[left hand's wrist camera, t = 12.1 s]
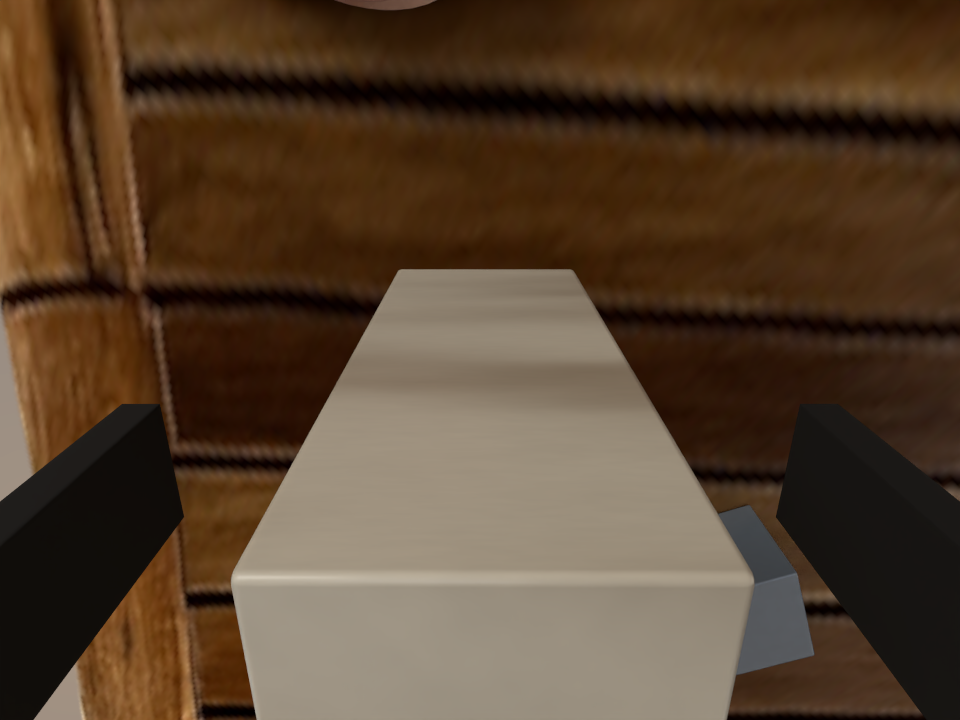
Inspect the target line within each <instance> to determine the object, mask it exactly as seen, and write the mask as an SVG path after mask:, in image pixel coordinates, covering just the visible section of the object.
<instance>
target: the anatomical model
mask: <svg viewBox="0 0 960 720" xmlns="http://www.w3.org/2000/svg"><path fill="white" fill-rule="evenodd" d="M336 1H339V2H342V3H345V4H349V5H353V6H358V7H363V8H368V9H378V10H402V9H410V8H415V7H419V6H423V5H427V4H429V3H431V2H433V1H436V0H336Z"/></svg>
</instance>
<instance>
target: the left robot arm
mask: <svg viewBox="0 0 960 720" xmlns="http://www.w3.org/2000/svg"><path fill="white" fill-rule="evenodd" d="M183 518H184V515H183V510H182V505H181V501H180V496H179V491H178V487H177V482H176V477H175V473H174V468H173V463H172V459H171V454H170V449H169V445H168V440H167V435H166V431H165V426H164V421H163V417H162V412H161V407H160V404H122V405H120V406H119V407H118V408H117V409H115V410H114V411H113V412H112V413H110V414H109V415H108V416H107V417H105V418H104V419H103V420H102V421H100V422H99V423H98V424H97V425H95V426H94V427H93V428H92V429H90V430H89V431H88V432H87V433H85V434H84V435H83V436H82V437H80V438H79V439H78V440H77V441H75V442H74V443H73V444H72V445H70V446H69V447H68V448H67V449H65V450H64V451H63V452H62V453H60V454H59V455H58V456H57V457H55V458H54V459H53V460H52V461H50V462H49V463H48V464H47V465H45V466H44V467H43V468H42V469H40V470H39V471H38V472H37V473H35V474H34V475H33V476H32V477H30V478H29V479H28V480H27V481H25V482H24V483H23V484H22V485H20V486H19V487H18V488H17V489H15V490H14V491H13V492H12V493H10V494H9V495H8V496H7V497H5V498H4V499H3V500H2V501H0V720H34V718H35V717H36V716H37V714H38V713H39V712H40V710H41V709H42V707H43V706H44V705H45V704H46V702H47V701H48V699H49V698H50V697H51V695H52V694H53V693H54V691H55V690H56V689H57V687H58V686H59V685H60V683H61V682H62V681H63V679H64V678H65V677H66V675H67V674H68V672H69V671H70V670H71V668H72V667H73V666H74V664H75V663H76V662H77V660H78V659H79V658H80V656H81V655H82V654H83V652H84V651H85V650H86V648H87V647H88V646H89V644H90V643H91V642H92V640H93V639H94V637H95V636H96V635H97V633H98V632H99V631H100V629H101V628H102V627H103V625H104V624H105V623H106V621H107V620H108V619H109V617H110V616H111V615H112V613H113V612H114V611H115V609H116V608H117V606H118V605H119V604H120V602H121V601H122V600H123V598H124V597H125V596H126V594H127V593H128V592H129V590H130V589H131V588H132V586H133V585H134V584H135V582H136V581H137V580H138V578H139V577H140V575H141V574H142V573H143V571H144V570H145V569H146V567H147V566H148V565H149V563H150V562H151V561H152V559H153V558H154V557H155V555H156V554H157V553H158V551H159V550H160V549H161V547H162V546H163V545H164V543H165V542H166V540H167V539H168V538H169V536H170V535H171V534H172V532H173V531H174V530H175V528H176V527H177V526H178V524H179V523H180V522H181V520H182V519H183ZM776 518H777V519H778V520H779V522H780V523H781V524H782V526H783V527H784V528H785V530H786V531H787V532H788V534H789V535H790V536H791V538H792V539H793V540H794V542H795V543H796V545H797V546H798V547H799V549H800V550H801V551H802V553H803V554H804V555H805V557H806V558H807V559H808V561H809V562H810V563H811V565H812V566H813V567H814V569H815V570H816V571H817V573H818V574H819V576H820V577H821V578H822V580H823V581H824V582H825V584H826V585H827V586H828V588H829V589H830V590H831V592H832V593H833V594H834V596H835V597H836V598H837V600H838V601H839V602H840V604H841V605H842V606H843V608H844V609H845V611H846V612H847V613H848V615H849V616H850V617H851V619H852V620H853V621H854V623H855V624H856V625H857V627H858V628H859V629H860V631H861V632H862V633H863V635H864V636H865V637H866V639H867V640H868V642H869V643H870V644H871V646H872V647H873V648H874V650H875V651H876V652H877V654H878V655H879V656H880V658H881V659H882V660H883V662H884V663H885V664H886V666H887V667H888V668H889V670H890V671H891V673H892V674H893V675H894V677H895V678H896V679H897V681H898V682H899V683H900V685H901V686H902V687H903V689H904V690H905V691H906V693H907V694H908V695H909V697H910V698H911V699H912V701H913V702H914V704H915V705H916V706H917V708H918V709H919V710H920V712H921V713H922V714H923V716H924V717H925V718H926V720H960V501H958V500H957V499H956V498H955V497H953V496H952V495H951V494H950V493H948V492H947V491H946V490H945V489H943V488H942V487H941V486H940V485H938V484H937V483H936V482H935V481H933V480H932V479H931V478H930V477H928V476H927V475H926V474H925V473H923V472H922V471H921V470H920V469H918V468H917V467H916V466H915V465H913V464H912V463H911V462H910V461H908V460H907V459H906V458H905V457H903V456H902V455H901V454H900V453H898V452H897V451H896V450H895V449H893V448H892V447H891V446H890V445H888V444H887V443H886V442H885V441H883V440H882V439H881V438H880V437H878V436H877V435H876V434H875V433H873V432H872V431H871V430H870V429H868V428H867V427H866V426H865V425H863V424H862V423H861V422H860V421H858V420H857V419H856V418H855V417H853V416H852V415H851V414H850V413H848V412H847V411H846V410H845V409H843V408H842V407H841V406H840V405H838V404H800V407H799V412H798V417H797V421H796V426H795V431H794V435H793V440H792V445H791V449H790V454H789V459H788V463H787V468H786V473H785V477H784V482H783V487H782V491H781V496H780V501H779V505H778V510H777V515H776Z"/></svg>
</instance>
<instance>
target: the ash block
mask: <svg viewBox="0 0 960 720" xmlns="http://www.w3.org/2000/svg"><path fill="white" fill-rule="evenodd" d="M231 586H232V592H233V597H234V602H235V607H236V613H237V618H238V623H239V628H240V633H241V639H242V644H243V649H244V654H245V660H246V665H247V670H248V675H249V681H250V686H251V691H252V696H253V702H254V707H255V712H256V717H257V720H727V715H728V711H729V706H730V701H731V696H732V692H733V687H734V682H735V677H736V672H737V668H738V663H739V658H740V653H741V648H742V644H743V639H744V634H745V629H746V624H747V620H748V615H749V610H750V605H751V600H752V596H753V591H754V586H755V579H754V576H753V573H752V571H751V569H750V568H749V566H748V564H747V563H746V561H745V559H744V558H743V556H742V554H741V552H740V551H739V549H738V547H737V546H736V544H735V542H734V541H733V539H732V537H731V536H730V534H729V532H728V531H727V529H726V527H725V525H724V524H723V522H722V520H721V519H720V517H719V515H718V514H717V512H716V510H715V509H714V507H713V505H712V504H711V502H710V500H709V499H708V497H707V495H706V493H705V492H704V490H703V488H702V487H701V485H700V483H699V482H698V480H697V478H696V477H695V475H694V473H693V472H692V470H691V468H690V467H689V465H688V463H687V461H686V460H685V458H684V456H683V455H682V453H681V451H680V450H679V448H678V446H677V445H676V443H675V441H674V440H673V438H672V436H671V434H670V433H669V431H668V429H667V428H666V426H665V424H664V423H663V421H662V419H661V418H660V416H659V414H658V413H657V411H656V409H655V408H654V406H653V404H652V402H651V401H650V399H649V397H648V396H647V394H646V392H645V391H644V389H643V387H642V386H641V384H640V382H639V381H638V379H637V377H636V375H635V374H634V372H633V370H632V369H631V367H630V365H629V364H628V362H627V360H626V359H625V357H624V355H623V354H622V352H621V350H620V349H619V347H618V345H617V343H616V342H615V340H614V338H613V337H612V335H611V333H610V332H609V330H608V328H607V327H606V325H605V323H604V322H603V320H602V318H601V317H600V315H599V313H598V311H597V310H596V308H595V306H594V305H593V303H592V301H591V300H590V298H589V296H588V295H587V293H586V291H585V290H584V288H583V286H582V284H581V283H580V281H579V279H578V278H577V276H576V274H575V273H574V271H573V270H399V271H398V273H397V274H396V276H395V278H394V280H393V282H392V283H391V285H390V287H389V289H388V291H387V293H386V294H385V296H384V298H383V300H382V302H381V303H380V305H379V307H378V309H377V311H376V313H375V314H374V316H373V318H372V320H371V322H370V323H369V325H368V327H367V329H366V331H365V333H364V334H363V336H362V338H361V340H360V342H359V343H358V345H357V347H356V349H355V351H354V353H353V354H352V356H351V358H350V360H349V362H348V364H347V365H346V367H345V369H344V371H343V373H342V374H341V376H340V378H339V380H338V382H337V384H336V385H335V387H334V389H333V391H332V393H331V394H330V396H329V398H328V400H327V402H326V404H325V405H324V407H323V409H322V411H321V413H320V414H319V416H318V418H317V420H316V422H315V424H314V425H313V427H312V429H311V431H310V433H309V434H308V436H307V438H306V440H305V442H304V444H303V445H302V447H301V449H300V451H299V453H298V454H297V456H296V458H295V460H294V462H293V464H292V465H291V467H290V469H289V471H288V473H287V474H286V476H285V478H284V480H283V482H282V484H281V485H280V487H279V489H278V491H277V493H276V494H275V496H274V498H273V500H272V502H271V504H270V505H269V507H268V509H267V511H266V513H265V514H264V516H263V518H262V520H261V522H260V524H259V525H258V527H257V529H256V531H255V533H254V535H253V536H252V538H251V540H250V542H249V544H248V545H247V547H246V549H245V551H244V553H243V555H242V556H241V558H240V560H239V562H238V564H237V565H236V567H235V569H234V571H233V574H232V577H231Z"/></svg>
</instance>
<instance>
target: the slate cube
mask: <svg viewBox="0 0 960 720" xmlns="http://www.w3.org/2000/svg"><path fill="white" fill-rule="evenodd" d="M718 515H719V517H720V519H721V520H722V522H723V524H724V525H725V527H726V529H727V531H728V532H729V534H730V536H731V537H732V539H733V541H734V542H735V544H736V546H737V547H738V549H739V551H740V552H741V554H742V556H743V558H744V559H745V561H746V563H747V564H748V566H749V568H750V569H751V571H752V573H753V576H754V579H755V586H754V591H753V596H752V600H751V605H750V610H749V615H748V620H747V624H746V629H745V634H744V639H743V644H742V648H741V653H740V658H739V663H738V668H737V672H736V675H739V674H743V673H747V672H751V671H755V670H759V669H763V668H767V667H771V666H775V665H779V664H782V663H786V662H790V661H794V660H798V659H802V658H806V657H810V656H813V655H814V649H813V644H812V640H811V635H810V631H809V626H808V621H807V617H806V612H805V607H804V603H803V598H802V593H801V589H800V584H799V579H798V575H797V572H796V571H795V569H794V568H793V566H792V565H791V564H790V562H789V561H788V559H787V558H786V556H785V555H784V554H783V552H782V551H781V549H780V548H779V546H778V545H777V543H776V542H775V541H774V539H773V538H772V536H771V535H770V533H769V532H768V531H767V529H766V528H765V526H764V525H763V523H762V522H761V521H760V519H759V518H758V516H757V515H756V513H755V512H754V510H753V509H752V508H751V506H750V505H747V506H743V507H740V508H736V509H733V510H729V511H726V512H722V513H719V514H718Z"/></svg>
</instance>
